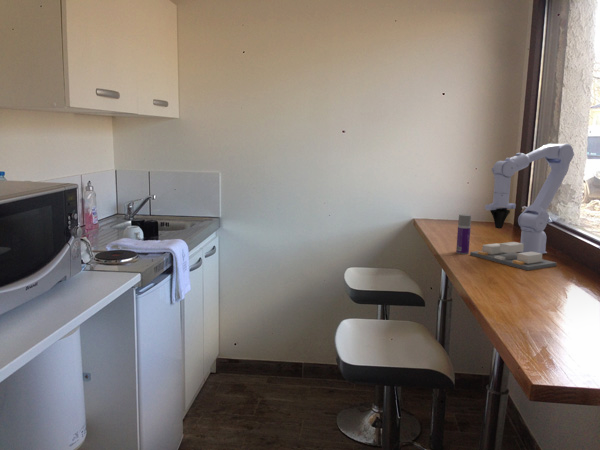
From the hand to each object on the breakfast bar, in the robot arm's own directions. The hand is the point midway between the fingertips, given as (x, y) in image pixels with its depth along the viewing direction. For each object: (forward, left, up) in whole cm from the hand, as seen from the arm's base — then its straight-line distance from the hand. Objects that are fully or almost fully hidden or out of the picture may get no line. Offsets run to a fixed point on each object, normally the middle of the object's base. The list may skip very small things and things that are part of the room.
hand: (498, 228), depth 203 cm
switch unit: (+2, +9, -10) cm, 14 cm away
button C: (+3, +17, -9) cm, 19 cm away
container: (+10, -8, -11) cm, 17 cm away
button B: (+3, +9, -7) cm, 12 cm away
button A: (+3, +1, -9) cm, 9 cm away
